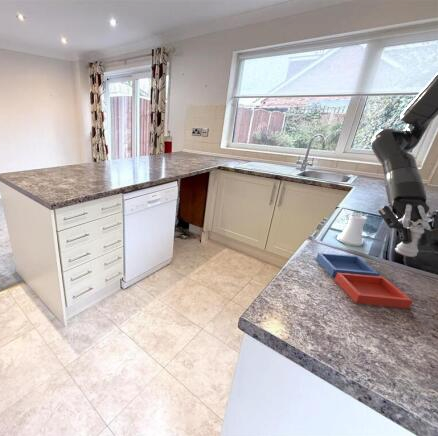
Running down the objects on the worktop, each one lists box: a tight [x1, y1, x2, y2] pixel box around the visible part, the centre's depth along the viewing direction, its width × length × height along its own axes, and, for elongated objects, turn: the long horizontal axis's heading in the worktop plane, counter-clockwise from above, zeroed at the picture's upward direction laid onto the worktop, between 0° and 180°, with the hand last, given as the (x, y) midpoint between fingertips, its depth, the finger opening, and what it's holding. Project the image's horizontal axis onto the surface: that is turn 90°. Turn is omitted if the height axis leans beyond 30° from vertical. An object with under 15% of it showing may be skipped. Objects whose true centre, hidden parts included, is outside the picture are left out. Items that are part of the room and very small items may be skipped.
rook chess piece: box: [394, 224, 425, 258], centre depth 66 cm, size 4×4×8 cm
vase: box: [336, 213, 368, 247], centre depth 90 cm, size 8×8×10 cm
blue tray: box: [315, 252, 380, 278], centre depth 74 cm, size 12×10×2 cm
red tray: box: [334, 273, 414, 309], centre depth 64 cm, size 12×10×2 cm
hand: (416, 243), depth 64 cm, fingers closed on rook chess piece, 3 cm apart
